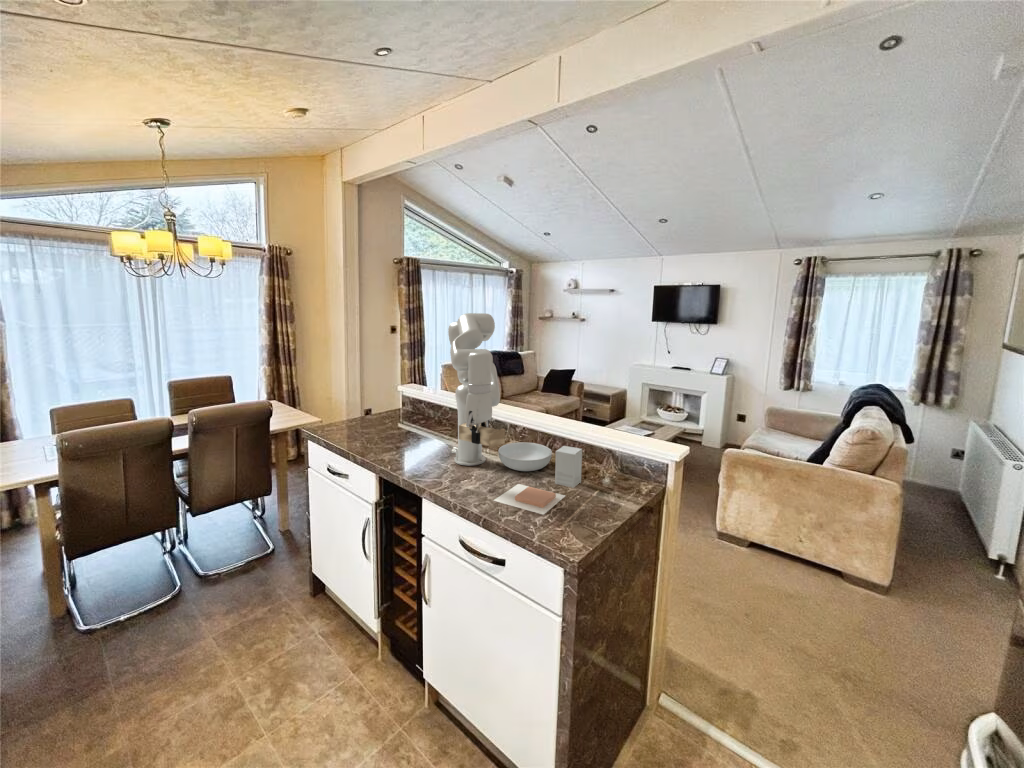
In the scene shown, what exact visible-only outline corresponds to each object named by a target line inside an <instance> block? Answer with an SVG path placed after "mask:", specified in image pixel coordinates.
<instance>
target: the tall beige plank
mask: <svg viewBox="0 0 1024 768" xmlns="http://www.w3.org/2000/svg"><path fill="white" fill-rule="evenodd" d="M466 424H467V423H464V424H461V425H459V439H460V440H464V441H469V442H472V432H471V431H470V429H469V428H468V427H466ZM474 426H475V427H476V425H474ZM479 432H480V444H482V446H488V449H491V450H492V449H495V448H497V447H500V446H501V445H504V444H505V443H506V440H505V439H506V429H505V428H503V427H502V428H499V429H498V428H497V429H496V428H492V427H489V428H488V427H483V426H479Z"/></svg>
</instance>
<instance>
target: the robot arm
mask: <svg viewBox="0 0 1024 768" xmlns="http://www.w3.org/2000/svg"><path fill="white" fill-rule="evenodd" d="M495 324H496V323H495V320H494V317H493V316H492V315H491V314H490V313H481V312H480V313H477V312H475V313H474V312H469V313H468V312H467V313H464V314H461V315H460V316H459V317H458V319H457V321H454V322H451V323H450V324H449V325H448V332H447V333H448V334H447V335H448V340H449V343H450V352H449V353H450V361H451V366H452V367H453V369H454V370H455V371H456V374H457V379H458V381H459V383H460V384H459V385H458V386H457V387H456V389H455V400H456V401H455V403H456V409H457V446H453V447H452V449H451V453H452V454H455V456H454V458H453V459H454V463H456V464H457V465H460V466H465V467H466V466H470V467H471V466H478V465H481V464H483V463H485V462H486V456H485V455H484V454H483V445H482V444H480V432H479V426H483V427H488V428H490V427H489V424H490V422H491V421H492V419H493V408H494V407H496V406H499V404H500V401H501V394H500V393H501V392H500V391H501V390H500V385H499V378H498V372H497V367H496V365H495V363H494V359H493V358H494V357H493V354H492V353H491V351H490V350H488V349H486V348H485V349H484V348H478V347H480V346H481V345H482V343H483V342H486V341H488V340H489V339H490V338H491V337H492V336H493V335H494V332H495V328H496V327H495V326H496V325H495ZM464 423H467V424H466V427H468V428H469V429H470V431H471V432H472V442H469V441H464V440H460V439H459V425H461V424H464ZM474 425H476V427H475V426H474Z"/></svg>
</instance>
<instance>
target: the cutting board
mask: <svg viewBox="0 0 1024 768" xmlns="http://www.w3.org/2000/svg"><path fill="white" fill-rule="evenodd" d="M527 487H530V486H528V485H525V484H520V483H518V484H516V485H514V486H513V487H511V488H510V489H508V490H507V491H505V492H504V493H502V494H501V495H499V496H498V497H496V498H495V499H493V500H492V501H493V502H496V503H500V504H503V505H508V506H509V507H510V506H511V507H515V508H518V509H522V510H525V511H528V512H533V513H536V514H539V515H542V516H544V515H546V513H548V512H549V511H550V510H551V509H552V508H554V506H555V505H557V504H558V503H559V502H560V501H561V500H563V499H564V498H565V497H566V495H565V494H562V493H561V494H560V493H556V492H555V493H556V497H555V498H554V499H553V500H552V501H551V502H550V503H548V504H547V505H546V506H545V507H544V508H540V507H537V506H533V505H529V504H526V503H522V502H518V501H516V500H515V496H516V495H517V494H519V493H520V492H522V491H523V490H524V489H526V488H527Z"/></svg>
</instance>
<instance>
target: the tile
mask: <svg viewBox="0 0 1024 768" xmlns="http://www.w3.org/2000/svg"><path fill="white" fill-rule="evenodd" d="M555 497H556V492H552V491H549V490H545V489H540V488H537V487H533V486H529V487H527V488H526V489H524V490H523V491H522V492H520V493H519V494H517V495H516V496H515V500H516V501H518V502H522V503H526V504H529V505H533V506H537V507H540V508H544V507H545V506H546V505H547V504H548V503H550V502H551V501H552V500H553V499H554V498H555Z"/></svg>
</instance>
